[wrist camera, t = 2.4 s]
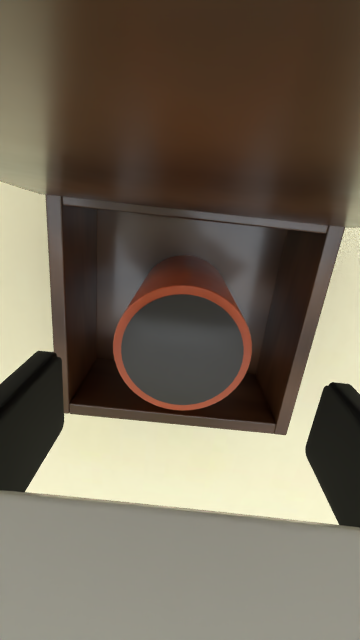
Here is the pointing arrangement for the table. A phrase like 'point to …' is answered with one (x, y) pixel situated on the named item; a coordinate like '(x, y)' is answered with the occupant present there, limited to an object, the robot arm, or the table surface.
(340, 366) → the table surface
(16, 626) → the robot arm
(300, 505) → the table surface
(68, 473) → the table surface
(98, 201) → the box
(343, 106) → the lid
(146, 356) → the tin
